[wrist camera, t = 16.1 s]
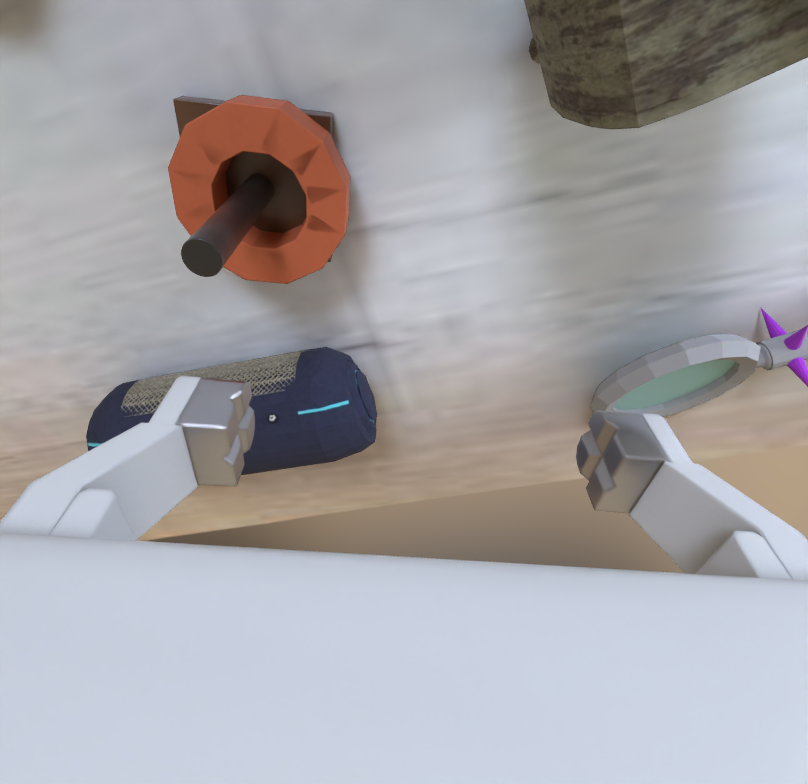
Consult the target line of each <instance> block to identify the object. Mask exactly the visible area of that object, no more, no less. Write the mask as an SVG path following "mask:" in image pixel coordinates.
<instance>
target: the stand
mask: <svg viewBox="0 0 808 784" xmlns="http://www.w3.org/2000/svg"><path fill="white" fill-rule="evenodd" d="M224 102H226V101H222V100H213V99H204V98H195V97H186V96H181V97H178V98H175V99H174V106H175V112H176V117H177V123H178V129H179V134H180V137H181V134H182V131H183V129H184V126H185V125H186V124H187V123H189V122H191V121H193V120H194V119H196V118H198V117H200V116H201V115H203V114H205V113H207V112H208V111H210V110H212V109H214V108H215V107H217V106H219V105H221V104H222V103H224ZM300 110H301V111H302V112H304V113H305V114H306V115H308V116H309V117H310V118H311V119H313V120H314V121H315V122H317V123H318V124H319V125H320V126H322V127H323V128H324V129H326V130H327V131H328V132H329V133H330V135H331V137H332V139H333V113H330V112H321V111H312V110H303V109H300ZM226 182H227V191H228V197H229V198H228V199H227V200H226V201H225V202H224V203H223V204H222V205H221V206H220V207H219V208H218V209H217V210H216V211H215V212H214V213H213V214H212V215H211V217H210V218H209V219H208V220H207V221H206V222H205V223H204V224H203V225H202V226H201V227H200V228H199V229H198V230H197V231H196V232H195V233H194V234H193V235H192V236H191V237H190V238H189V239H188V240H187V241H186V242H185V243H184V245H183V247H182V250H181V255H182V259H183V262H184V264H185V265H186V266H187V268H188V269H189V270H191V271H192V272H193V273H195V274H197V275H200V276H204V277H210V276H214V275H216V274H217V273H219V271H220V270H221V269H222V267H223V266H224V265H225V263H226V262H227V260H228V259H229V258H230V256H231V255H232V254H233V252H234V251H235V249H236V248H237V247H238V245H239V244H240V242H241V241H242V240H243V238H244V237H245V235H246V234H247V233H248V231H249V230H250V228H251V227H252V226H253V225H254V226H255V227H257V228H258V229H260V230H261V231H269V232H278V233H285V232H287V231H289V230H291V229H293V228H295V227H298V226H300V225H302V224H303V222H304V221H305V219H306V217H307V215H306V194H305V192H304V190H303V189H302V187H301V185H300V183H299V181H298V179H297V178H296V176H295V174H294V172H293V171H292V170H291V169H289V168H288V167H287V166H285V165H284V164H282V163H281V162H280V161H278V160H277V159H275V158H274V157H273V156H271V155H270V154H261V153H253V152H244V151H243V152H241V153H239V154H238V155H236V156H234V157H233V158H232V160H231V162H230V165H229V167H228V169H227V171H226ZM331 258H332V255H331V256H330V258H329V259H328V261H327V262H330V261H331Z"/></svg>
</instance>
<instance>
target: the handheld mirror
mask: <svg viewBox="0 0 808 784" xmlns="http://www.w3.org/2000/svg"><path fill="white" fill-rule="evenodd" d="M761 310H762V313H763V316H764V319H765V322H766V325H767V328H768V331H769V334H770V337H771V339H768V340H764V341H761V342H759V343H756V344H755V343H753V342H752V341H750V340H747V339H745V338H742V337H740V336H738V335H735V334H714V335H706V336H702V337H698V338H694V339H689V340H685V341H681V342H677V343H675V344H672V345H669V346H667V347H664V348H662V349H659V350H656V351H654V352H651V353H649V354H646V355H644V356H642V357H640V358H638V359H636V360H635V361H633V362H631V363H629V364H627V365H625V366H624V367H622V368H620V369H618V370H617V371H615V372H614V373H613V374H612V375H610V376H609V377H608V378H607V379H605V380H604V381H603V382H602V383H601V384H600V385H599V386H598V388H597V390H596V392H595V394H594V396H593V400H592V403H591V407H590V408H591V410H592V411H593V412H595V411H596V410H598V411H612V412H625V413H636V414H637V413H648V414H659V415H660V416H662V417H665V416H668V415H671V414H674V413H677V412H680V411H683V410H686V409H689V408H692V407H694V406H697V405H699V404H701V403H704V402H706V401H708V400H711V399H713V398H715V397H718V396H719V395H721V394H723V393H725V392H726V391H728V390H730V389H732V388H734V387H735V386H737V385H739V384H741V383H742V382H743V381H744V380H745V379H746V378H748V377H749V376H750V375H751V374H752V373H753V372H755V369H756V368H758V367H763V368H764V369H767V370H771V369H775V368H778V367H782V366H785V365H787V366H788V367H789V368H790V369H791V370H792V371H793V372H794V373H795V374H796V375H797V376H798V377H799V378H800V379H801V380H802V381H803V382H804V383H805V384H806V385H807V386H808V370H807V367H806V364H805V361H804V360H806V359H808V325H807V326H806V327H804V328H802V329H801V330H797V331H794V332H791V333H786V332H785V331H784V330H783V329H782V328H781V327H780V326H779V325H778V324H777V323H776V322H775V321H774V320H773V319H772V318H771V317H770V316H769V315H768V314H767V313H766V312H765V311H764V310H763V309H762V308H761Z"/></svg>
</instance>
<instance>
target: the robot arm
mask: <svg viewBox="0 0 808 784" xmlns="http://www.w3.org/2000/svg"><path fill="white" fill-rule="evenodd" d="M251 397H252V393H251V387H250V384H249V383H248V382H243V381H234V380H224V379H214V378H201V377H191V376H180V377H178V378H177V379H176V380H175V381H174V383H173V385H172V386H171V388H170V389H169V391H168V393H167V394H166V396H165V397H164V399H163V400H162V402H161V404H160V405H159V407H158V408H157V410H156V412H155V413H154V415H153V416H152V418H151V420H150V421H149V423H140V424H138V425H136V426H134V427H132V428H131V429H129V430H127V431H125V432H123V433H121V434H120V435H118V436H116V437H114V438H112V439H110V440H108V441H107V442H105V443H103V444H101V445H99V446H97V447H96V448H94V449H92V450H90V451H88V452H86V453H85V454H83V455H81V456H79V457H77V458H75V459H73V460H72V461H70V462H68V463H66V464H64V465H62V466H61V467H59V468H57V469H55V470H53V471H51V472H50V473H48V474H46V475H44V476H42V477H40V478H38V479H37V480H35V481H33V482H31V483H30V485H29V486H28V487H27V488H26V490H25V491H24V492H23V493H22V495H21V496H20V497H19V498H18V500H17V501H16V502H15V503H14V505H13V506H12V507H11V508H10V510H9V511H8V512H7V513H6V515H5V516H4V517H3V518H2V520H1V521H0V784H808V541H807V540H806V538H805V537H804V536H803V534H802V533H800V532H799V531H797V530H796V529H794V528H793V527H791V526H790V525H788V524H787V523H785V522H784V521H783V520H781V519H780V518H778V517H777V516H775V515H773V514H772V513H771V512H769V511H767V510H766V509H765V508H763V507H762V506H760V505H759V504H757V503H756V502H755V501H753V500H752V499H750V498H749V497H747V496H746V495H744V494H743V493H741V492H740V491H738V490H737V489H735V488H734V487H732V486H731V485H729V484H728V483H727V482H725V481H724V480H722V479H721V478H719V477H718V476H716V475H715V474H713V473H712V472H710V471H709V470H707V469H706V468H704V467H703V466H701V465H700V464H693V463H692V461H691V459H690V458H689V456H688V455H687V453H686V452H685V450H684V449H683V447H682V445H681V444H680V442H679V441H678V439H677V438H676V436H675V434H674V433H673V431H672V430H671V428H670V427H669V425H668V424H667V422H666V420H665V419H664V418H663V417H662V416H660V415H659V414H648V413H637V414H636V413H625V412H612V411H598V410H596V411H595V412H594V413H593V414H592V415H591V417H590V419H589V422H588V424H589V426H590V428H591V430H590V431H588V432H587V433H585V434H584V435H582V436H581V438H580V441H579V443H578V446H577V454H576V459H577V465H578V468H579V471H580V473H581V474H582V475H583V476H584V477H585V478H586V479H588V480H589V483H588V485H587V487H586V490H587V492H588V495H589V497H590V500H591V503H592V505H593V508H594V510H596V511H606V512H618V513H628V514H630V515H629V516H630V517H631V518H632V519H633V520H634V521H635V522H636V523H637V524H638V525H639V526H640V527H641V528H642V529H643V530H644V531H645V532H646V533H647V534H648V535H649V536H650V537H651V538H652V539H653V541H654V542H655V543H657V545H658V546H659V547H660V548H661V549H662V550H663V551H664V552H665V553H666V554H667V555H668V556H669V557H670V558H671V559H672V560H673V561H674V562H675V563H676V564H677V565H678V566H679V567H680V568H681V569H682V570H683V571H684V572H685V573H670V572H654V571H636V570H619V569H603V568H586V567H569V566H553V565H536V564H518V563H502V562H484V561H468V560H450V559H434V558H417V557H399V556H384V555H366V554H349V553H333V552H316V551H315V552H314V551H298V550H282V549H264V548H247V547H230V546H214V545H197V544H180V543H164V542H147V541H136V540H137V539H139V538H140V537H141V536H142V535H143V534H144V533H145V532H147V531H148V530H149V529H150V528H151V527H152V526H154V525H155V524H156V523H157V522H158V521H159V520H160V519H162V518H163V517H164V516H165V515H166V514H167V513H168V512H170V511H171V510H172V509H173V508H174V507H175V506H176V505H178V504H179V503H180V502H181V501H182V500H183V499H185V498H186V497H187V496H188V495H189V494H190V493H191V492H193V491H194V490H195V489H196V488H197V487H198V485H215V486H237V484H238V481H239V478H240V475H241V473H242V470H243V467H244V464H245V463H244V456H243V454H244V453H246V452H247V451H248V450H250V447H251V444H252V441H253V437H254V430H255V415H254V410H253V409H252V408H251V407H250V406H249V403H250V400H251Z"/></svg>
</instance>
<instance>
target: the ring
mask: <svg viewBox="0 0 808 784" xmlns="http://www.w3.org/2000/svg"><path fill="white" fill-rule="evenodd" d="M243 151H244V152H253V153H261V154H270V155H271V156H273V157H274V158H275V159H277V160H278V161H280V162H281V163H282V164H284V165H285V166H287V167H288V168H289V169H291V170H292V171H293V172H294V174H295V176H296V178H297V179H298V181H299V183H300V185H301V187H302V189H303V190H304V192H305V194H306V215H307V217H306V219H305V221H304V222H303V224H302V225H300V226H298V227H295V228H293V229H291V230H289V231H287V232H285V233H278V232H269V231H261V230H260V229H258V228H257V227H255V226H254V225H253V226H252V227H251V228H250V230H249V231H248V233H247V234H246V235H245V237H244V238H243V240H242V241H241V242H240V244H239V245H238V247H237V248H236V249H235V251H234V252H233V254H232V255H231V256H230V258H229V259H228V260H227V262H226V263H225V265H224V266H223V267H224V268H226V269H228V270H230V271H231V272H233V273H235V274H236V275H238V276H240V277H241V278H243V279H245V280H253V281H263V282H273V283H284V284H288V283H290V282H292V281H295V280H297V279H299V278H302V277H304V276H306V275H308V274H311V273H313V272H315V271H317V270H320V269H322V268H323V267H324V265H325V264H326V262H327V261H328V259H329V258H330V256H331V255H332V253H333V252H334V250H335V249H336V247H337V246H338V244H339V243H340V241H341V240H342V238H343V237H344V235H345V232H346V228H347V224H348V220H349V198H350V175H349V173H348V171H347V169H346V166H345V164H344V162H343V160H342V158H341V156H340V154H339V152H338V150H337V148H336V145H335V143H334V141H333V139H332V137H331V135H330V133H329V132H328V131H327V130H326V129H324V128H323V127H322V126H320V125H319V124H318V123H317V122H315V121H314V120H313V119H311V118H310V117H309V116H308V115H306V114H305V113H304V112H302V111H301V110H300V109H298V108H297V107H296V106H295V105H293V104H292V103H291V102H288V101H286V100H278V99H270V98H262V97H254V96H246V95H241V96H240V95H239V96H237V97H235V98H233V99H230V100H228V101H226V102H224V103H222V104H221V105H219V106H217V107H215V108H214V109H212V110H210V111H208V112H207V113H205V114H203V115H201V116H200V117H198V118H196V119H194V120H193V121H191V122H189V123H187V124H186V125H185V126H184V129H183V131H182V134H181V137H180V139H179V142H178V144H177V147H176V149H175V152H174V154H173V157H172V159H171V162H170V164H169V167H168V171H169V176H170V182H171V187H172V193H173V198H174V204H175V209H176V214H177V216H178V219H179V220H180V222H181V223H182V224H183V226H184V227H185V229H186V230H187V231H188V233H189V234H190V235H191V236H192V235H193V234H194V233H195V232H196V231H197V230H198V229H199V228H200V227H201V226H202V225H203V224H204V223H205V222H206V221H207V220H208V219H209V218H210V217H211V215H212V214H213V213H214V212H215V211H216V210H217V209H218V208H219V207H220V206H221V205H222V204H223V203H224V202H225V201H226V200H227V199H228V198H229V197H228V191H227V182H226V171H227V169H228V167H229V165H230V162H231V160H232V158H233V157H234V156H236V155H238V154H239V153H241V152H243Z"/></svg>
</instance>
